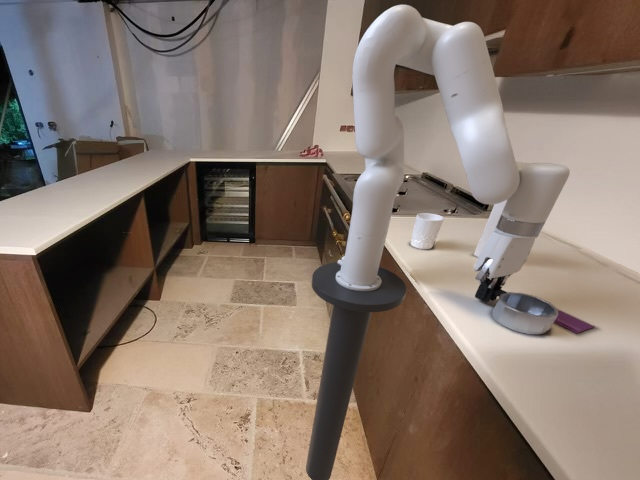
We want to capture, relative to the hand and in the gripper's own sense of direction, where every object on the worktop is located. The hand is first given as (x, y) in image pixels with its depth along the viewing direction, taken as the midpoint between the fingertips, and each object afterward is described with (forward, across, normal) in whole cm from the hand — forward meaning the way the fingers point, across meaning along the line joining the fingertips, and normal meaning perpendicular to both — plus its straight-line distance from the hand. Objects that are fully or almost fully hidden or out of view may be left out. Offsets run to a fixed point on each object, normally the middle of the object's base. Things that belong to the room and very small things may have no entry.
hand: (484, 298), depth 78 cm
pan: (+1, 0, +6) cm, 6 cm away
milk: (+1, -26, -18) cm, 32 cm away
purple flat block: (+1, -10, +10) cm, 14 cm away
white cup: (+1, -14, -33) cm, 36 cm away
